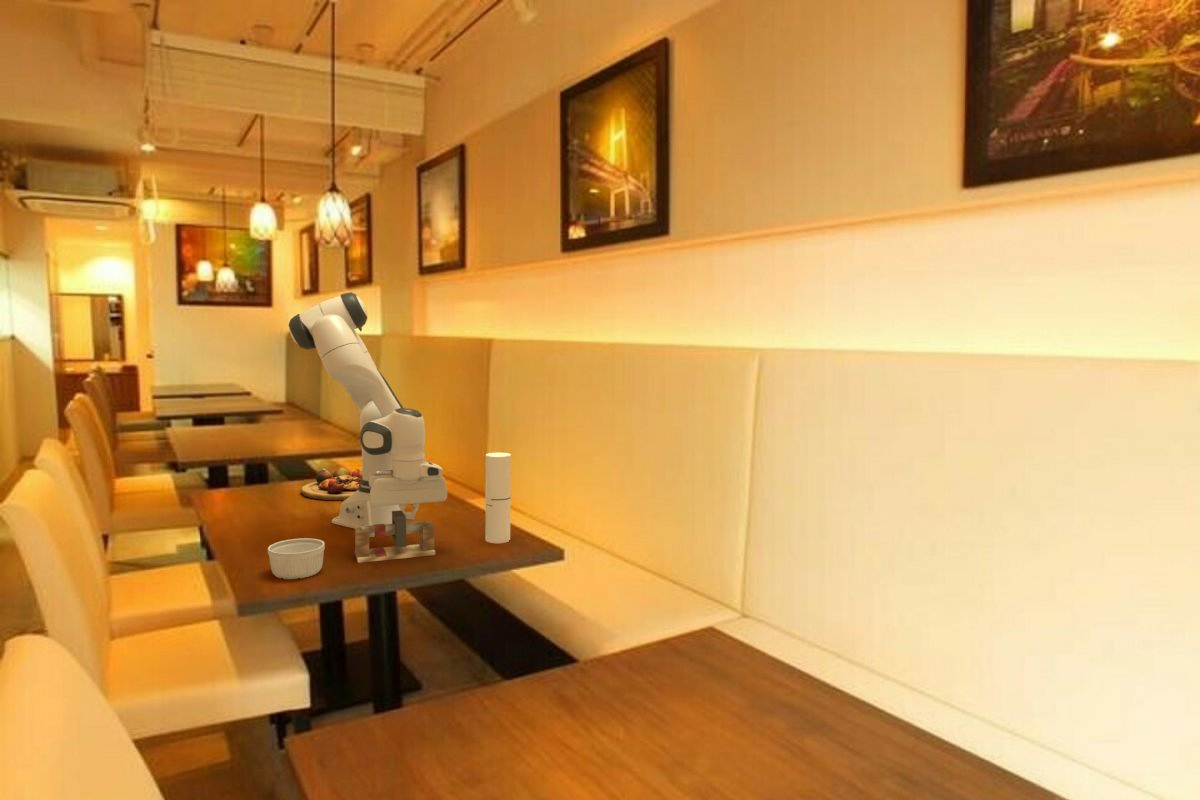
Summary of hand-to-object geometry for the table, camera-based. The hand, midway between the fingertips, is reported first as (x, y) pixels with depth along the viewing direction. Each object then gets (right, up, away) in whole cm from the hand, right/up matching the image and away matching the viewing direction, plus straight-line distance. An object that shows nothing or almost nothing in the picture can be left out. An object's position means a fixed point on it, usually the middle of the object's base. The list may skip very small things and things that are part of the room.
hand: (409, 519), depth 206 cm
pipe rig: (-4, -9, -1) cm, 10 cm away
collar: (-3, -6, 0) cm, 7 cm away
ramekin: (-24, -11, -16) cm, 31 cm away
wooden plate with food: (-41, -2, +73) cm, 84 cm away
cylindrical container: (+22, -8, +15) cm, 28 cm away
